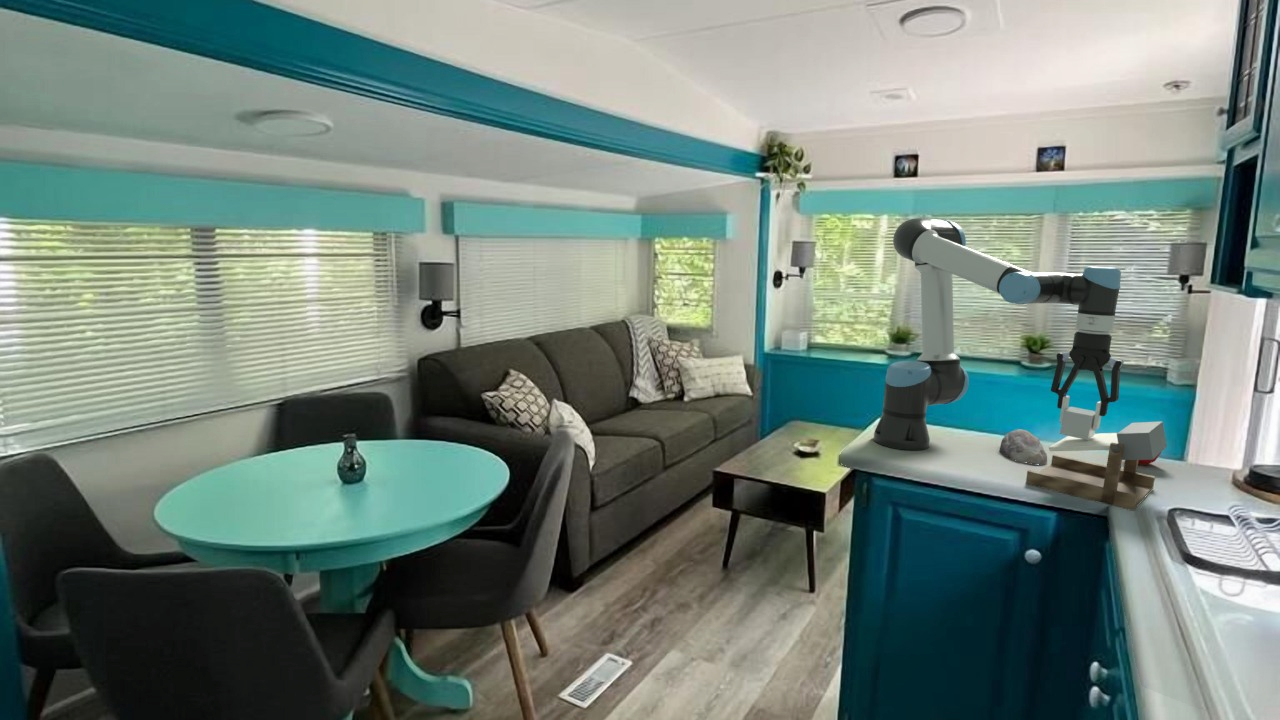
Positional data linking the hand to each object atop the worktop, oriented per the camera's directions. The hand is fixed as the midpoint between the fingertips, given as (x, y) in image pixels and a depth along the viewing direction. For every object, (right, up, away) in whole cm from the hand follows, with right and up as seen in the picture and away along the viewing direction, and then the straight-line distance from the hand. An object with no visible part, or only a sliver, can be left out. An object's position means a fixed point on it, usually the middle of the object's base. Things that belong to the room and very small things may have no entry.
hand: (1079, 424), depth 169 cm
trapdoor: (+5, -7, -4) cm, 9 cm away
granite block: (0, -2, +1) cm, 2 cm away
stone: (-1, -11, +23) cm, 26 cm away
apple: (+29, -13, +20) cm, 38 cm away
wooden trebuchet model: (+2, -15, 0) cm, 15 cm away
